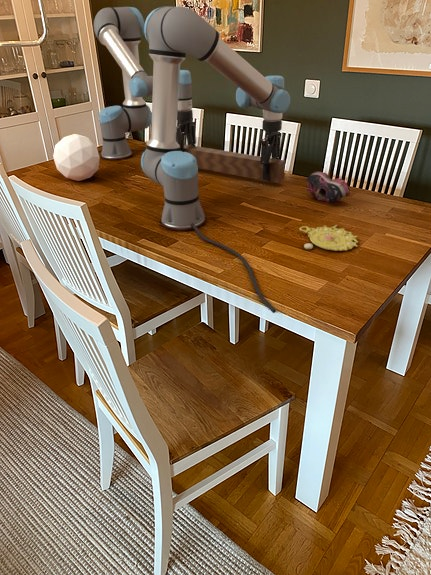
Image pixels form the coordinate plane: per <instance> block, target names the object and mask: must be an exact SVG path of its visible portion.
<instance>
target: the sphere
mask: <svg viewBox="0 0 431 575" xmlns="http://www.w3.org/2000/svg"><path fill="white" fill-rule="evenodd" d="M98 151H99V150H98V147H97V145H96V144H95V143H94V142H93V141H92V140H91V138H89V137H88V136H85V135H80V134H77V133H73V134H70V135H67V136H63V137H62V138H61V139H60V140H59V141H58V142H57V143H56V144H55V145H54V150H53V157H52V158H53V161H54V164H55V167H56V170H57V171H58V172H59V173H60V174H62V175H63V176H64V177H65V178H66V179H69V180H73V181H77V182H80V181H84V180H87V179H90V178H92V177H93V175H94V174H96V173H97V171H98V170H99V166H100V159H101V158H100V153H98Z"/></svg>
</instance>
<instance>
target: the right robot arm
mask: <svg viewBox="0 0 431 575" xmlns="http://www.w3.org/2000/svg"><path fill="white" fill-rule="evenodd" d="M144 24H145V25H144V37H145V39H146V41H147V43H148V56H149V57H150V59H151V60H152V61H153V68H152V69H153V70H152V76H153V95H151V97H152V99H151V100H152V101H151V113H152V121H151V125H150V126H151V127H150V128H151V131H150V139H149V140H148V141H146V144H145V145H146V147H145V150H144V152H142V155H141V158H140V166H141V170H142V172H143V173H144V174H145V175H146V176H147V178H148V179H150V180H151V181H153V182H155V183H156V184H158V185H160V186H162V187H163V194H164V204H163V209H162V213H161V219H160V220H161V225H162V227H163V228H165V229H167V230H170V231H175V232H176V231H177V232H185V231H186V232H187V231H192V230H194V231H195V232H196V233H197V234H198V236H199V237H200V238H201V239H202V240H204V241H205V242H206V243H209V244H212V245H215V246H217V247H219V248H221V249H224V250H226V251H227V252H230V253H232V254H233V255H234V256H236V257H237V258H238V259H239V260H240V261H241V262H242V263H243V265H244V267H245V268H246V269H247V271H248V273H249V277H250V280H251V283H252V284H253V287H254V290H255V293H256V294H257V296H258V298H259V299H260V301H261V302H262V303H263V304H264V305H265V306H266V307H267V308H268V309H269V310H270V311H271V313H272V314H275V313H276V312H277V310H276V309H275V307H274V306H273V305H272V304H271V303H270V302H269V301H268V300H267V299H266V298H265V296H264V295H263V293H262V292H261V289H260V288H259V285H258V283H257V279H256V277H255V276H254V273H253V270H252V268H251V265H249V263H248V262H247V260H246V259H245V258H244V257H243V256H242V255H241V254H240V253H239V252H238V251H236V250H234V249H232V248H231V247H229V246H227V245H224V244H222V243H221V242H218V241H215V240H212V239H209V238H208V237H206V236H205V235H204V234H203V233H202V232H201V230H200V229H199V228H201V227H202V226H203V225H204V224H205V223H206V216H205V212H204V210H203V208H202V204H201V202H200V196H199V175H198V172H199V168H198V166H197V161H196V158H195V157H194V156H193V155H192V154H190V153H187V152H182V151H180V145H179V144H178V143H177V142H176V129H177V124H178V120H177V112H178V95H179V79H180V70H181V64H182V63H183V62H184V61H185V60H186V55H187V54H188V55H190V56H192V57H193V58H194V59H197V61H199V62H201V63H202V62H206V63H207V64H208V65H210V66H211V67H212V68H213V69H215V70H216V71H217V72H218V73H220V74H221V75H223V76H224V77H225V78H226V79H228V80H229V81H230V82H231V83H233V84H234V85H235V86H236V87H238V88H237V89H236V92H235V101H236V103H237V106H238V107H240V108H242V109H243V108H255V109H258V110H262V119H263V120H262V127H261V128H262V131H264V132H265V134H264V137H263V138H261V139H260V145H261V146H260V157H261V159H260V164H263V180H262V181H265V180H268V181H267V182H270V181H269V175H270V164H269V161H270V158H273V159H279V160H281V159H280V157H281V143H282V142H281V141H282V140H281V139H282V134H283V133H282V132H280V131H281V130H282V129H283V128H282V126H283V121H282V119H283V114H284V113H285V112H286V111H287V110H288V109H289V107H290V104H291V96H290V94H289V92H288V91H287V90H285V78H284V76H282V75H267V76H264V75H263V74H261V72H259V71H258V70H257V69H256V68H255V67H253V65H251V63H249V62H248V61H247V60H245V58H243V56H241V55H240V54H239V53H238V52H236V51H235V50H234V49H233V48H232V47H231V46H230V45H228V44H227V42H225V41H224V40H223V39H222V38H221V35H220V34H221V33H220V32H219V31H218V30H217V29H216V28H215V27H214V26H212V25H211V24H210V23H209V22H208V21H207V20H206V19H205V18H203V17H202V16H201V15H200V14H198V12H196V11H194V10H193V9H191V8H189V7H186V6H182V5H181V6H180V5H179V6H160V7H157V8H154V9H153V10H152V11H150V13H148V15H147V17H146V19H145V20H144Z"/></svg>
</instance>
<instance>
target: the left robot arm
mask: <svg viewBox="0 0 431 575" xmlns="http://www.w3.org/2000/svg"><path fill="white" fill-rule="evenodd" d="M144 25H145V19H144V17H143V15H142V13H141V11H140V10H139V9H138V8H136V7H134V6H133V7H132V6H117V7H115V6H114V7H104V8H102V9H100V10H98V12H97V13H96V15H95V17H94V20H93V30H94V34H95V36H96V38H97V40H98V42H99V43H100V44H101V45H103V46H105V47H106V49H107V50H108V52H109V53H110V54H111V56H112V57H113V59H114V60H115V62H116V64H117V65H118V66H119V67H120V69H121V72H122V81H123V92H124V98H125V99H124V101H123V102H122V106H121V105H112V106H111V105H110V106H106V107H104V108H102V109H101V110H99V112H98V122H99V125H100V131H101V138H102V147H101V148H102V149H101V150H98V154H100V153H101V154H100V155H101V158H102V159H103V160H107V161H120V160H125V159H128V158H130V157H131V156H132V154H133V153H132V149H131V148H130V145H129V143H128V141H127V135H126V134H127V133H132V132H137V131H143V130H147V129H148V128H149V127H150V126H151V125H152V110H151V107H150V106H149V105H148V104H147V102H146V100H144V99H143V98H145V97H149V96H153V75H148V74H147V72H146V71H145V70H144V68H143V66H141V64H140V54H139V44H140V43H141V41H142V40H141V37H142V36H143V35H145V33H144ZM192 82H193V80H192V74H191V71H190V70H188V69H180V79H179V95H178V112H177V129H176V142H177V143H178V144H179V145H180V151H182V152H185V150H184V144H185V139H186V141H187V145H192V146H196V144H197V136H196V125H197V124H196V121H192V120H193V118H194V114H193V113H194V112H193V111H194V110H192V109H193V93H192V92H193V91H192V90H193V89H192V87H193V86H192Z"/></svg>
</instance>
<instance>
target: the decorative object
mask: <svg viewBox="0 0 431 575" xmlns="http://www.w3.org/2000/svg"><path fill="white" fill-rule="evenodd" d="M303 228H304V229H305V230H304V229H303ZM299 231H300V232H303V233H305V234H307V237H308V238H309V240H310V241H311V243H304V244H303V248H304V249H305V250H313V249H314V245H315V246H316V247H318V248H321V249H324V250H328V251H335V252H341V251H348V250H352V249H354V247H356V248H358V247H359V245H358V244H357V243H359V240H357V238H359V237H358V235H353V234H352V231H347V230H346V229H345V228H344V227H342V228H338V224H335V225H333V226H331V227H328V226H327V225H326V224H325V225H323V226H322V227H321V226H317V227H316V228H314V227H309V226H308V225H302V226H300V227H299ZM313 244H314V245H313Z"/></svg>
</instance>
